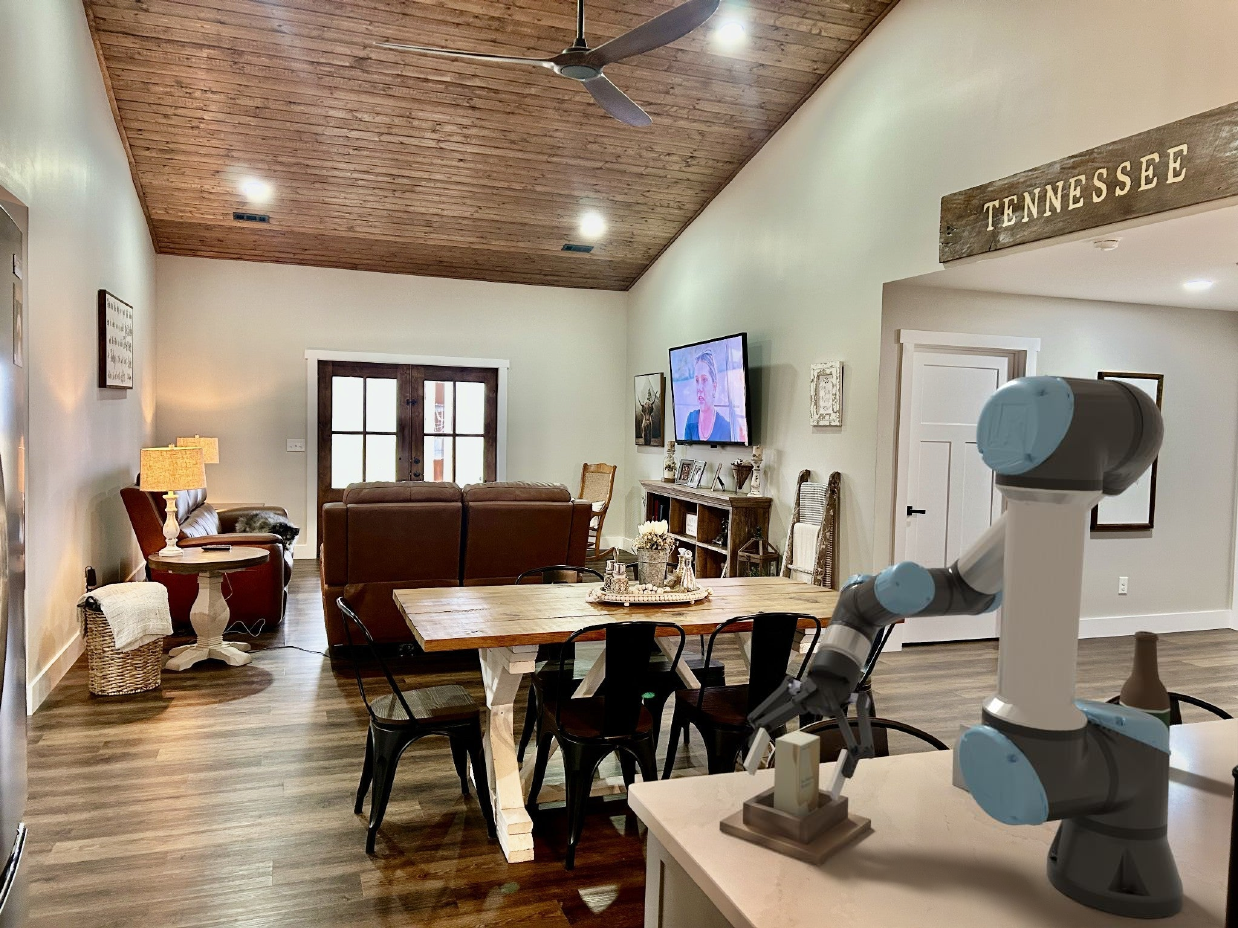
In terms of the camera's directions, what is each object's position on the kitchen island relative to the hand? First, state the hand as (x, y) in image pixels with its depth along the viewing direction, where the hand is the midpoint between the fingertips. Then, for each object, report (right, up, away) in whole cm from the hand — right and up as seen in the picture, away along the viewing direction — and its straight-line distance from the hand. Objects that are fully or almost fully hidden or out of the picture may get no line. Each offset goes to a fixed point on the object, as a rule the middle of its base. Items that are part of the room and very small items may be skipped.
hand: (788, 782), depth 124 cm
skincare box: (+1, -6, +2) cm, 7 cm away
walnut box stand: (+1, -7, +2) cm, 8 cm away
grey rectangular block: (+35, -8, +18) cm, 40 cm away
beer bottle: (+70, -8, +31) cm, 77 cm away
